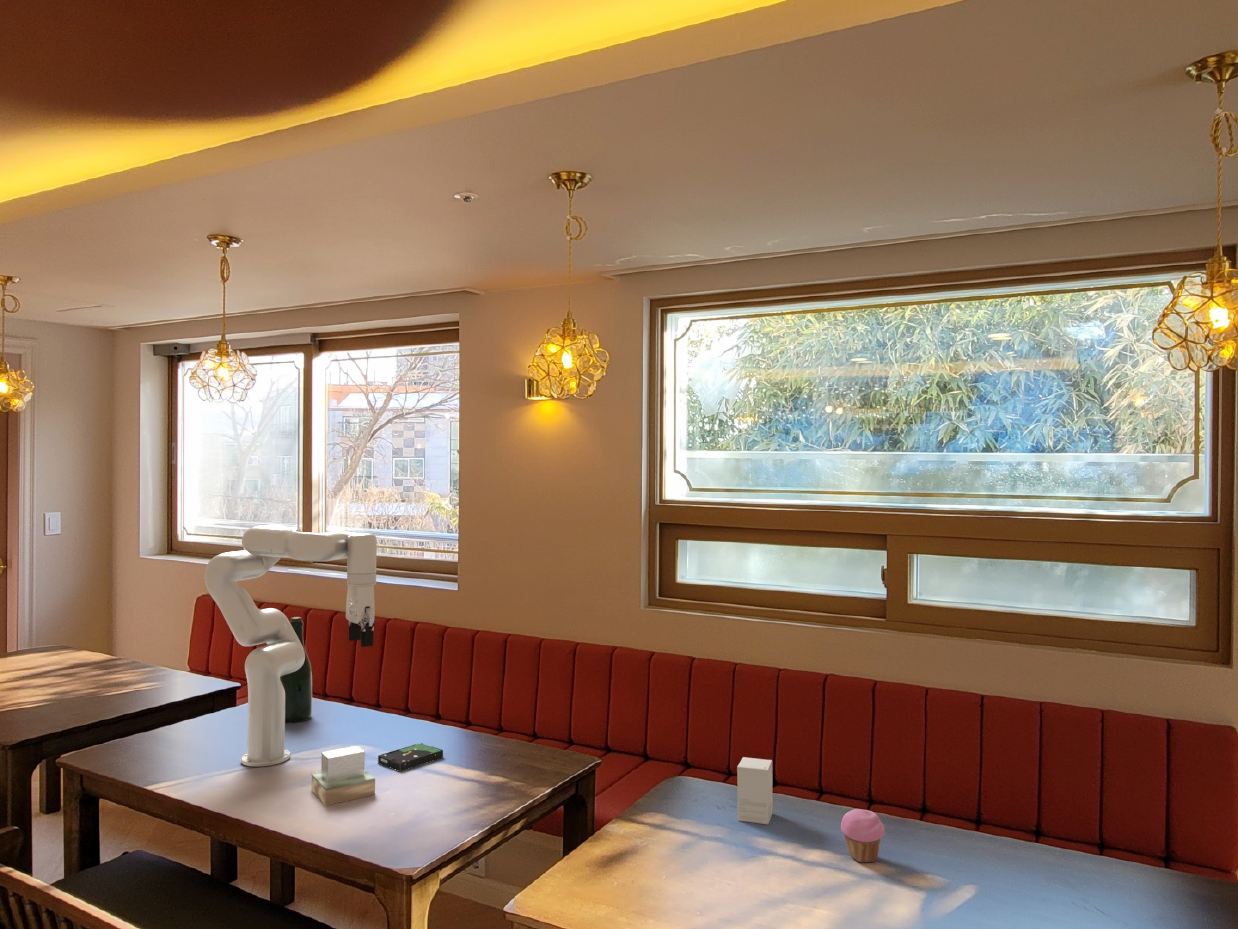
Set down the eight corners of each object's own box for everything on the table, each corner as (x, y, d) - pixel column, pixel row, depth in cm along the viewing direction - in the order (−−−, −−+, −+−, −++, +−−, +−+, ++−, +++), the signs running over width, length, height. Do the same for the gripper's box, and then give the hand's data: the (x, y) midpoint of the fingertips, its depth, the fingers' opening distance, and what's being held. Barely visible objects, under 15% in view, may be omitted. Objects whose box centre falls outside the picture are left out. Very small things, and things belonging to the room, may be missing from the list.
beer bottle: (318, 715, 272) (319, 615, 272) (299, 724, 262) (300, 620, 262) (290, 713, 274) (292, 614, 275) (270, 722, 264) (272, 619, 265)
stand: (311, 790, 207) (311, 774, 207) (358, 780, 214) (359, 764, 214) (325, 805, 197) (326, 788, 197) (374, 794, 204) (375, 778, 204)
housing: (357, 769, 211) (357, 745, 211) (364, 775, 206) (364, 751, 206) (321, 776, 205) (321, 752, 205) (327, 783, 201) (328, 758, 201)
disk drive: (400, 774, 220) (443, 759, 232) (400, 763, 220) (444, 749, 232) (377, 765, 227) (420, 751, 238) (377, 755, 227) (420, 741, 239)
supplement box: (773, 813, 195) (773, 759, 195) (768, 825, 188) (768, 770, 188) (742, 809, 197) (742, 756, 198) (736, 821, 190) (736, 766, 191)
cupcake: (892, 865, 169) (893, 816, 169) (855, 871, 166) (855, 821, 166) (868, 847, 177) (868, 800, 177) (832, 852, 175) (832, 804, 175)
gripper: (337, 577, 226) (336, 639, 225) (358, 583, 212) (357, 650, 212) (364, 575, 230) (363, 636, 230) (386, 581, 216) (385, 647, 216)
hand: (360, 643), depth 221 cm, fingers open, 9 cm apart
